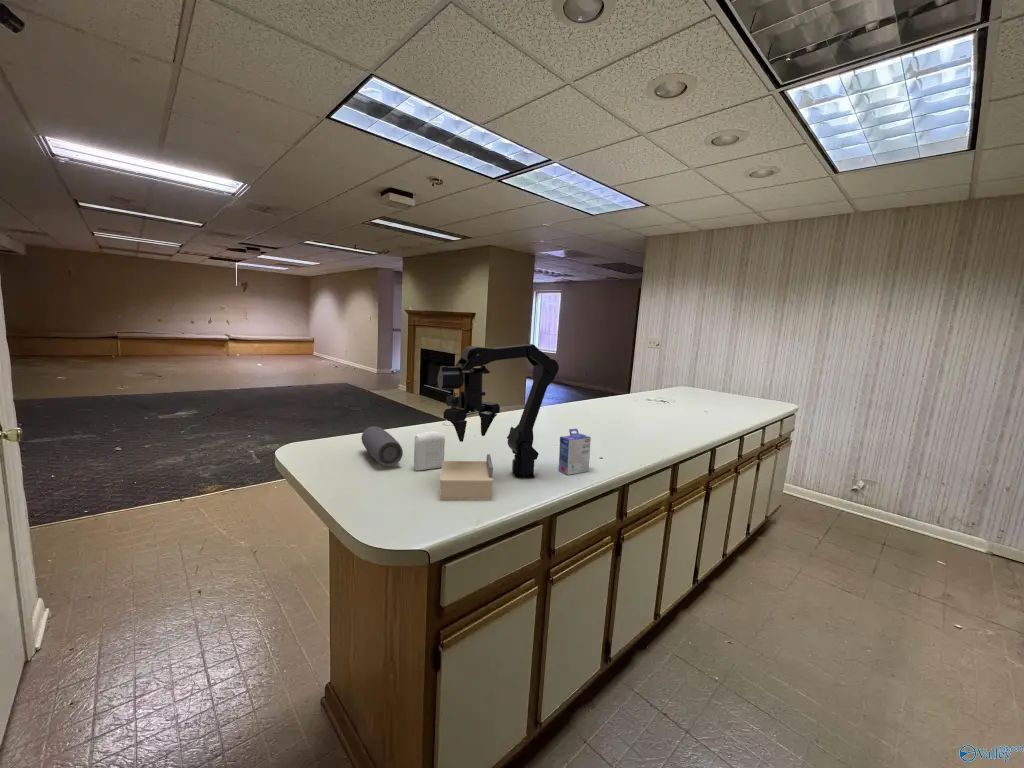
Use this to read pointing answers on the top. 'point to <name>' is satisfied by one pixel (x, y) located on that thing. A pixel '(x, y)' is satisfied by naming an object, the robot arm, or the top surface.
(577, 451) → the ink cartridge box
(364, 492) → the top surface
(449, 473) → the lid
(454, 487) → the mailer box
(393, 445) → the bluetooth speaker
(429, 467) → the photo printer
